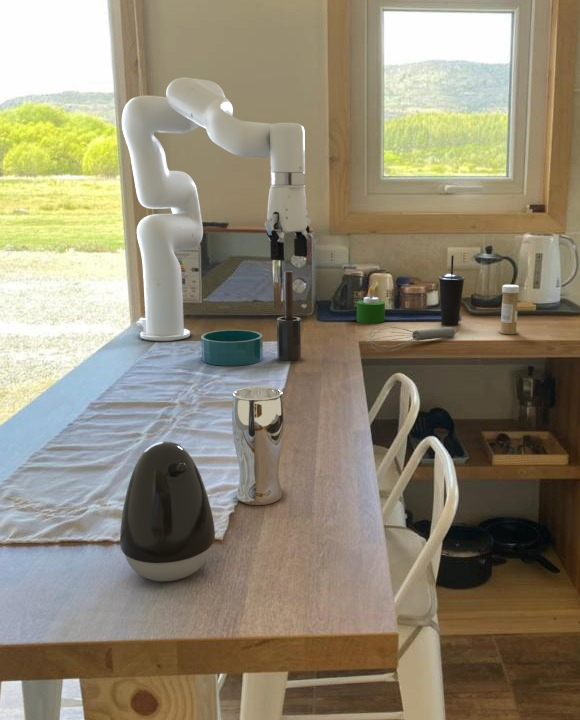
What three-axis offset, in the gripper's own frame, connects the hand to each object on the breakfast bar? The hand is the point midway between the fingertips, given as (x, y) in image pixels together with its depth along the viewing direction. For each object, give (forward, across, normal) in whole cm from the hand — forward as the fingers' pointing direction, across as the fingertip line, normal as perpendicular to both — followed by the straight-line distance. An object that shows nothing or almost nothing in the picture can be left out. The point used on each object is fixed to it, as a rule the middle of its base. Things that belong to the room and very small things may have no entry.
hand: (289, 258), depth 182 cm
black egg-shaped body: (+25, +91, +41) cm, 103 cm away
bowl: (+24, +7, -12) cm, 27 cm away
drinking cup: (+24, -62, +15) cm, 68 cm away
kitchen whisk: (+24, -31, +17) cm, 43 cm away
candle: (+24, -54, -7) cm, 60 cm away
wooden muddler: (+24, 0, -1) cm, 24 cm away
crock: (+24, 0, -1) cm, 24 cm away
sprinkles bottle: (+24, -58, +34) cm, 72 cm away
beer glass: (+25, +69, +38) cm, 83 cm away
